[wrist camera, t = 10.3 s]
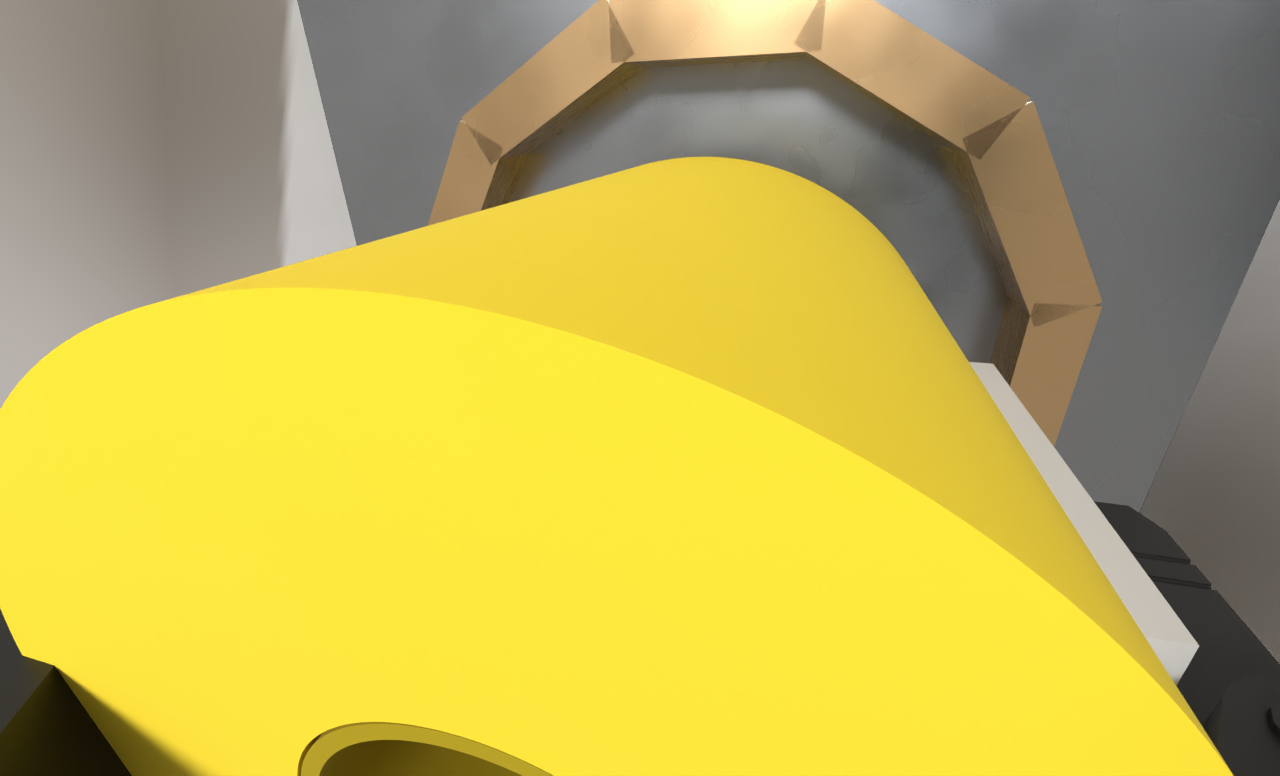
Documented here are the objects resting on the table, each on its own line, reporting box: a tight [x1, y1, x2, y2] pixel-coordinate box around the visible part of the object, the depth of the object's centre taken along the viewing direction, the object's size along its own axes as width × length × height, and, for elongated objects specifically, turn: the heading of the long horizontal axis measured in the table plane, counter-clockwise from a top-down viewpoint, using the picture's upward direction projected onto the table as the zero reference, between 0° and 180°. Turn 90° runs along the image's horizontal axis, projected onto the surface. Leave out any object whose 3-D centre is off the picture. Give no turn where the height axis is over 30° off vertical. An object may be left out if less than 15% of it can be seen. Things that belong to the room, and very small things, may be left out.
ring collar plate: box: [297, 0, 1280, 512], centre depth 15 cm, size 22×22×2 cm
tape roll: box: [0, 157, 1234, 776], centre depth 9 cm, size 10×10×9 cm
